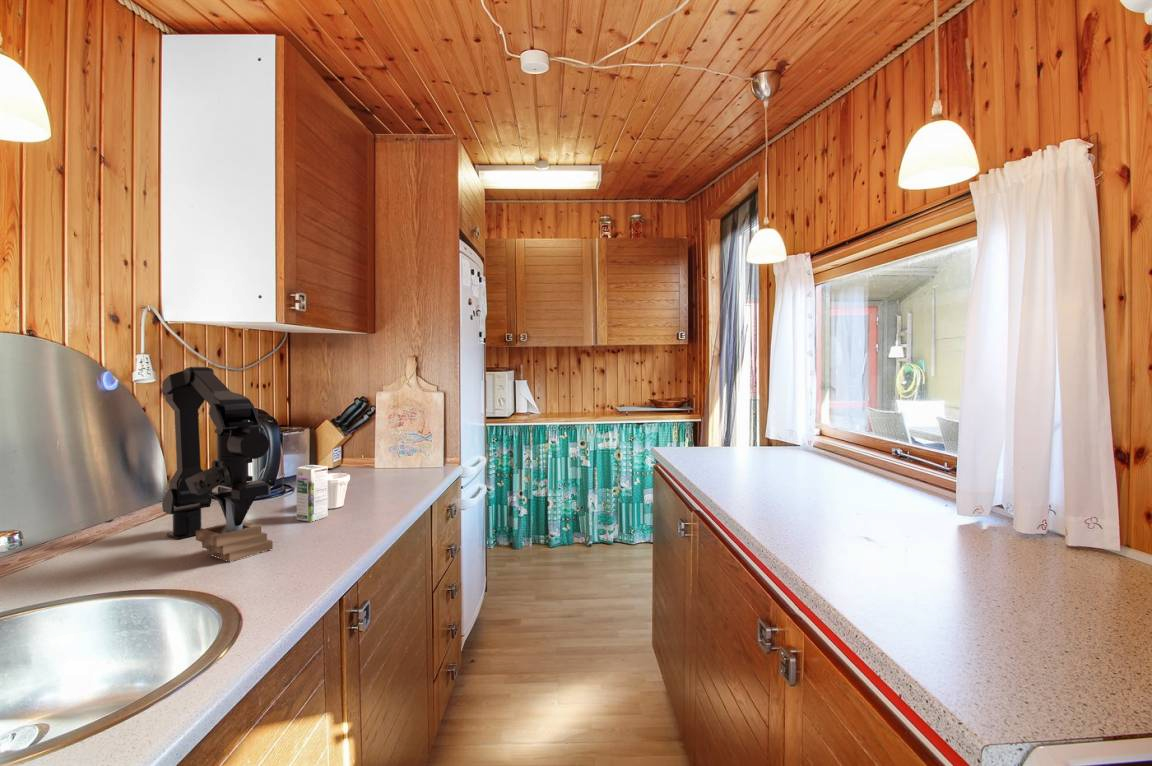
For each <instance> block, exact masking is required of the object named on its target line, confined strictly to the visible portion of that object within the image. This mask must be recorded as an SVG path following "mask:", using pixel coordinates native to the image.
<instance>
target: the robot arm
mask: <svg viewBox="0 0 1152 766" xmlns="http://www.w3.org/2000/svg"><path fill="white" fill-rule="evenodd" d="M161 386H162V387H161V390H162V393H163V394H164V398H165V402H166V403H167V405H169V406H170V407H171V409H172V411H173V412H174V413H173V414H174V425H175V426H174V427H175V428H174V429H175V432H174V433H175V450H176V452H175V453H176V471H175V473H174V474H173V476H171V479H170V480H169V484H168V490H167V491H166V494H165V496H164V498H163V501H162V503H161V505H162V511H163V513H165V514H168V515H172V531H169V532H167V533H166V536H168V537H171V538H174V539H177V540H181V539H185V538H189V537H193V536H196V531H197V530H201V529H204V528H203V527H202V524H203V523H202V509H204V508H205V509H206V508H211V504H212V499H213V498H214V499H215V500H217V501H218V503H219V505H220V508H221V511H222V514H223V516H224V519H225V520H226V500H227V501H229V502H230V503H231V506H232V512H233V519H234V523H235V526H239V525H241V524H242V522H243V521H244V519H245V518H246V516H247V514H248V512H249V510H250V508H251V506H252V505H253V503H254V502H255V499H256V498H258V497H263V496H268V495H270V494H271V485H270V484H268V482H266V481H264V480H263V481H262V480H254V477H253V475H250V473H249V464H252V463H253V460H256V459H260V458H262V457H263V456H265V455H266V454H267V452H268V451H269V449H270V441H269V438H268V436H266V434H265V433H262V432H260V428H261V427H262V425H261V421H262V419H261V417H260V416H259V413H258V412H257V410H256V407H255V406H254V404H253V402H252V401H251V399H249V398H248V397H247V396H245V395H243V394H240V393H238V392H237V393H236V392H233V391H232V390H230V389H229V388H228V387H227V386H226V385H225V383H224V382H222V381H221V379H220V378H219V377H217V375H216V374H215V373H214V370H213V368H212V367H209V366H189V367H186V368H184V369H183V370H181V371H178V372H177V371H176V372H174V373H171V374H170V375H168V376H167V377H166V378H164V379H163V381H162V385H161ZM205 401H206V403H208V405H209V406H210V407H209V411H208V415H209V417H210V419H211V421H212V422H213V425H214V426H215V427H216V428H215V430H214V434H216V445H217V446H216V451H217V452H216V457H217V458H216V459H213V460H212V461H211V467H210V468H208V469H205V470H203V469H202V465H201V464H202V463H201V444H200V441H201V440H200V422H199V421H200V419H199V410H200V408H201V407H202V406H203V404H204V402H205Z"/></svg>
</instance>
